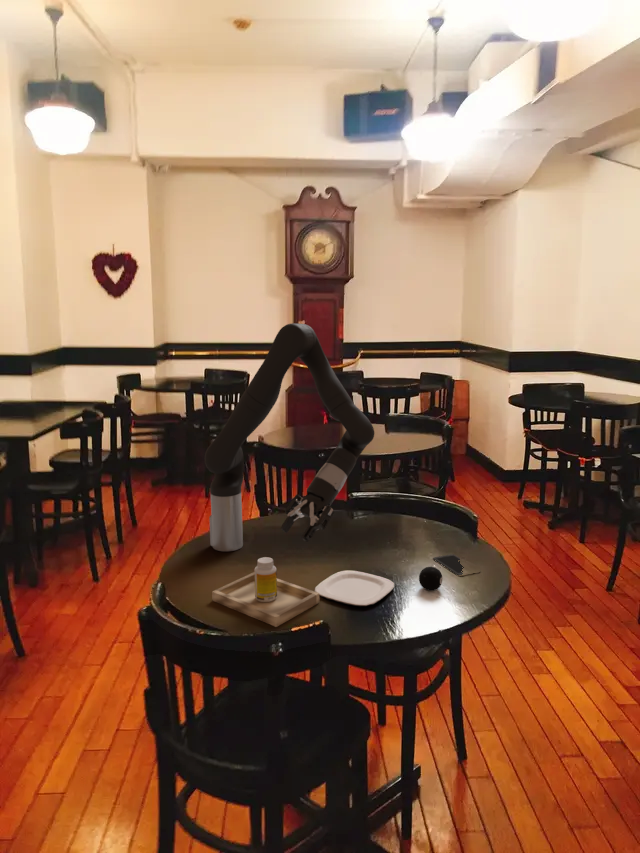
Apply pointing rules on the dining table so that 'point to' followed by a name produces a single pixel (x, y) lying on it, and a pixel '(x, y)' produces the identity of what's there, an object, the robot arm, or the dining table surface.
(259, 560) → the supplement bottle
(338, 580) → the plate
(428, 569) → the billiard ball
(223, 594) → the serving tray
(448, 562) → the cell phone
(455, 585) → the dining table surface
